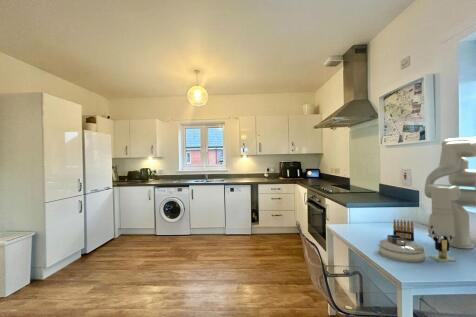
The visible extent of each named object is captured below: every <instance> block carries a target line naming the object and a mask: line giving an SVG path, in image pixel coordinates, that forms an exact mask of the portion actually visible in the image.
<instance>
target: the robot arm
mask: <svg viewBox="0 0 476 317" xmlns="http://www.w3.org/2000/svg"><path fill="white" fill-rule="evenodd" d="M475 157H476V136H469V137H454V138H453V137H452V138H447V139H444V140H442V141H441V153H440V158H439V164H438V166H437V167H436V168H434V169H433V170H432V171H431V172H430V173H429V174H428V175H427V177H426V179H425V184H424V188H423V189H424V191H423V192H424V195H425V197H427V198H428V199H431V213H430V215H429V218H428V224H427V225H428V226H427V231H428V235H427V236H428V237H429V238H431V239H432V240H433V241H434V248H435V250H436V251H438V252H439V251H442V243H441V238H443V239H447V252H449V251H450V247H454V248H458V249H463V250H464V249H465V250H466V249H469V250H471V249H473V248H475V246H474V244H472V243H476V238H472V237H471V236H470V214H469V212H468V210H466V209H465V208H464V207H467V208H476V169H469V160H468V159H467V158H475ZM446 176H448V184H437V183H435V182H436V181H437V180H439V179H441V178H443V177H446ZM460 187H466V188H460ZM468 187H469V189H467V188H468ZM470 188H474V189H470Z"/></svg>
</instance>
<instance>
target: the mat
mask: <svg viewBox="0 0 476 317" xmlns="http://www.w3.org/2000/svg"><path fill="white" fill-rule="evenodd" d="M429 258H430V259H432V260H435V261H437V262H439V263H452V262H456V261H457V260H456V259H455V258H453V257H450V256H448V255H447V259H441V258H439V255H429Z"/></svg>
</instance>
